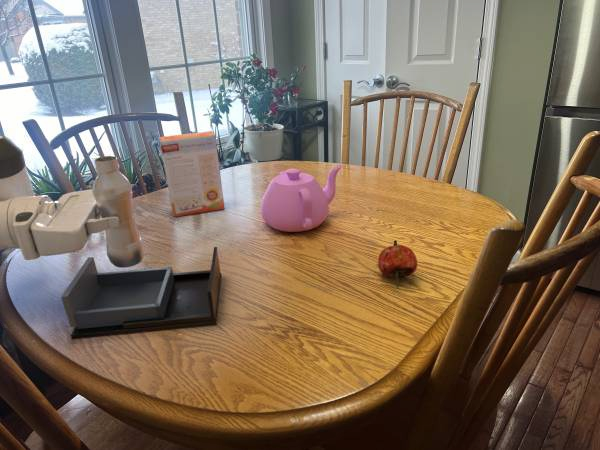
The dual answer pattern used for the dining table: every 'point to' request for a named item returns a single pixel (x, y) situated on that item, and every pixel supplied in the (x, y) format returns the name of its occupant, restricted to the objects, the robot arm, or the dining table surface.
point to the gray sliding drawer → (116, 296)
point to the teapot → (297, 200)
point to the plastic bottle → (117, 213)
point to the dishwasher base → (176, 305)
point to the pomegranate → (397, 261)
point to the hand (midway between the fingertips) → (123, 213)
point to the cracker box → (192, 173)
